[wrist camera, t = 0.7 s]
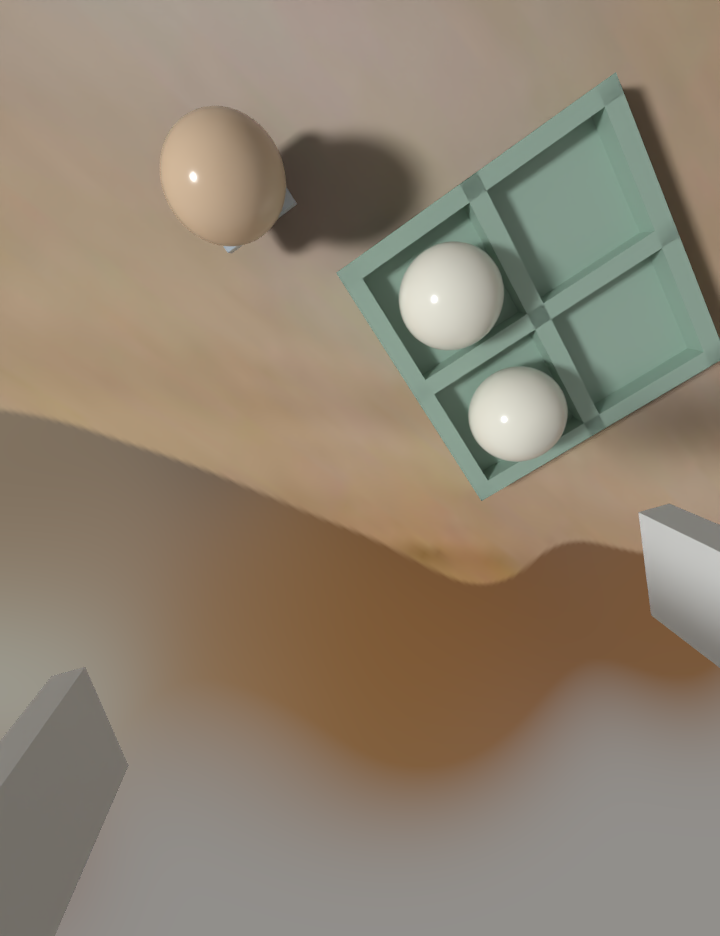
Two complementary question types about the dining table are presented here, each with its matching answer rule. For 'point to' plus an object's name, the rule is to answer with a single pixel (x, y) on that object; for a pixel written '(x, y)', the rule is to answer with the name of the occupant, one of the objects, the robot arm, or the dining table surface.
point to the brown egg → (222, 176)
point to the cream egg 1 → (451, 295)
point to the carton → (553, 283)
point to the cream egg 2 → (518, 413)
